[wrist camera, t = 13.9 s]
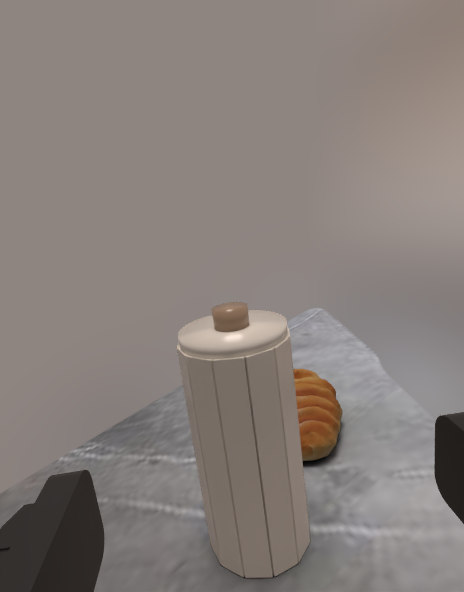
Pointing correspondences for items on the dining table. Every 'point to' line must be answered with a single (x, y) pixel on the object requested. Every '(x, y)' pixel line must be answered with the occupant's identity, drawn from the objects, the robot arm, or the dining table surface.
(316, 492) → the dining table surface
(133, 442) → the dining table surface
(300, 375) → the pastry
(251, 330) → the ribbed lidded canister
